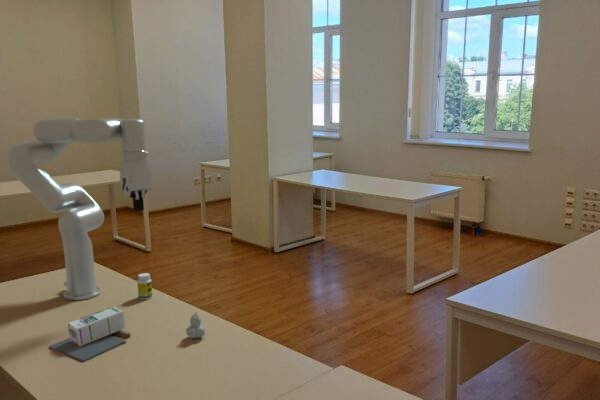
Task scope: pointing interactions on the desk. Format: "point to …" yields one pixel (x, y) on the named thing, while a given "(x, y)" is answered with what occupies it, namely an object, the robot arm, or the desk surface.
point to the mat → (87, 347)
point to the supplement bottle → (144, 286)
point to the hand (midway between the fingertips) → (138, 210)
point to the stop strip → (122, 333)
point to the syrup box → (96, 326)
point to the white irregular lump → (195, 327)
